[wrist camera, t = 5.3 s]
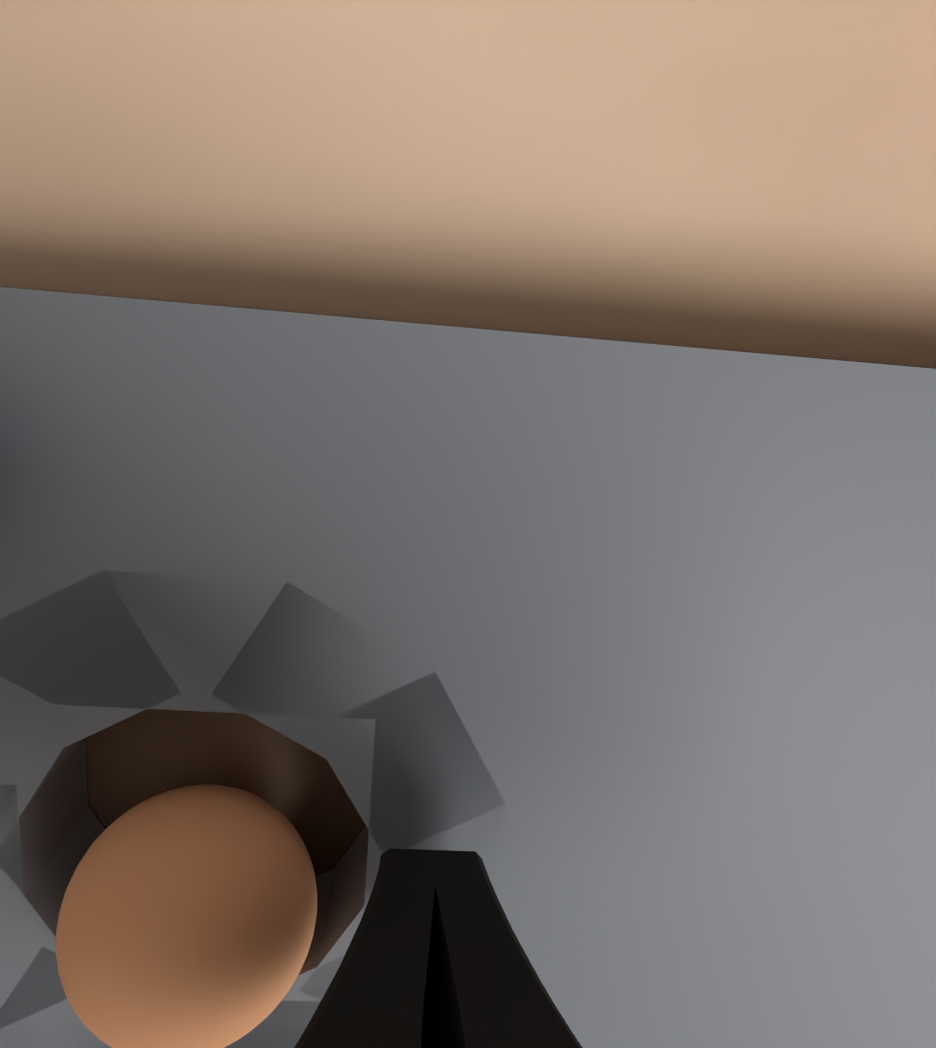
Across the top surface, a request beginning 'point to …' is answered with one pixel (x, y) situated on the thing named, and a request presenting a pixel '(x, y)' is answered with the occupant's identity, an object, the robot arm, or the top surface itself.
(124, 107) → the top surface
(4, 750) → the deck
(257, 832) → the ball
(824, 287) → the top surface
